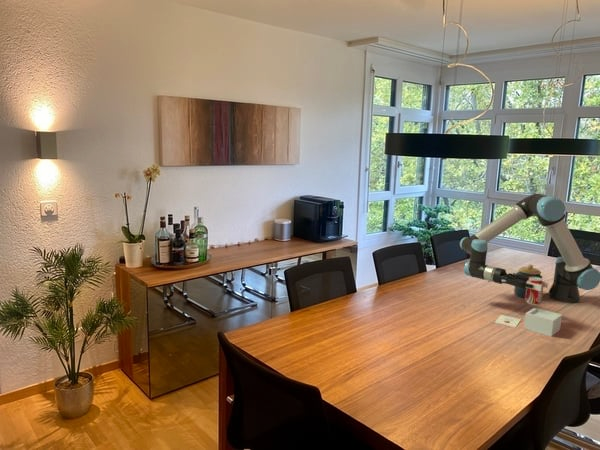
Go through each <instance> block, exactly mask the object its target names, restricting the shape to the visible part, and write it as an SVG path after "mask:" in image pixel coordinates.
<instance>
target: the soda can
mask: <svg viewBox="0 0 600 450" xmlns="http://www.w3.org/2000/svg"><path fill="white" fill-rule="evenodd" d="M543 281H544V280H543V278H539V277H529V279H528V280H527V282H531V283H535V284H539V285H542V288H541V291H538V290H534V289H530V288H526V294H525V298H524V301H525V302H527V304H529V305H532V306H538V305H541V304H542V301H543V295H544V293H543V292H544V287H543Z"/></svg>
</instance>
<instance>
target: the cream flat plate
mask: <svg viewBox="0 0 600 450" xmlns="http://www.w3.org/2000/svg"><path fill="white" fill-rule="evenodd" d="M521 320H522V319H520V318H517V317H513V316H508V315H503V314H500V316H498V318H497V319H496V320H495V321H494V323H495V324H498V325H503V326H508V327H511V328H517V326H518V324H520V323H521Z"/></svg>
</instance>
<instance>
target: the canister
mask: <svg viewBox="0 0 600 450" xmlns="http://www.w3.org/2000/svg"><path fill="white" fill-rule="evenodd" d="M516 274H519V275H524V276H529V277H539V278H541V279H543V276H542V275H541V274H542V272H541V270H539V268H537V267H534V266H533V265H532V264H528V265H527V266H523V267H522V266H521V267H520V268H518V271H517V272H516ZM513 289H514V290H513V292H514V295H515V296H516V297H519V298H523V299H525V294H526V287H525V289H523V287H522V288H520V287H516V286H514V288H513Z"/></svg>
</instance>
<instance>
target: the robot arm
mask: <svg viewBox="0 0 600 450" xmlns="http://www.w3.org/2000/svg"><path fill="white" fill-rule="evenodd" d="M565 211H566V205H565V204H564V202H563V201H562V200H561V199H560V198H558V197H557V196H554V195H548V194H543V193H533V194H530V195H528V196H526V197H524V198H523V199H521V200H520V201H518V202H516V203H515V204H513V207H512V208H511V209H509V210H508V211H506V212H505V213H504V214H502V215H500V216H499V217H498V218H496V219H494V220H493V221H492V222H490V223H488V224H487V225H485V226H484V227H483V228H481V229H480V230H478V231H477V232H475V233H474V234H472V235H470V236H469V237H468V236H465V237H463V238H461V240H460V241H459V247H460V249H461V250H462V251H463V252H465V253H466V254H469V256H470V257H469V258H470V259H469V260H467V261H466V262H465V264H464V267H463V273H464V275H466V276H469V277H471V278H476V279H478V280H479V279H480V280H483V281H487V282H488V283H490V282H492V283H495V284H499V285H502V284H505V285H509V286H514V287H515V286H516V287H520V288H522V287H523V289H525V287H526V288H530V289H534V290H538V291H541V288H542V285H539V284H535V283H531V282H527V280H528V279H529V276H524V275H519V274H516V273H517V272H516V273H515V272H513V273H510V272H509V273H508V272H507V271H506V269H505V268H501V267H497V266H492V265H488V264H486V262H487V255H488V253H487V252H488V243H489V242H490V241H492V240H493V239H495V238H496V237H498V236H499V235H501V234H503V233H504V232H505V231H507V230H509V229H510V228H511V227H513V226H515V225H516V224H518V223H519V222H521V221H522V220H525V221H526V220H527V219H529V218H533V217H536V218H537V220H538V222H539V223H540V225H541V227H545V228H546V229H547V231H548V233H549V235H550V237H551V239H552V241H553V242H554V244H555V246H556V247H557V249H558V252H559V253H560V255H561V256H558V257H557V258H556V261H555V268H554V274H553V275H554V276H553V281H552V282H553V283H552V284H551V286H550V288H549V289H548V287H549V282H548V281H545V280H542V281H543V288H546V289H548V292H547V296H548V297H549V298H550V299H553V300H554V301H558V302H564V303H570V304H571V303H574V304H575V303H578V302H580V299H581V296H580V291H579V289H582V290H584V291H591V290H593V289H595V288H597V287H598V286H599V285H600V271H599V270H598V269H597V268H594V267H593V265H592V263H591V261H590V259H588V258H586V257H584V256H583V253H582V251H581V250H580V248H579V246H578V244H577V242H576V240H575V238H574V236H573V235H572V233H571V230H570V229H569V227H568V225H567V223H566V222H565V221H566V220H565V219H566V217H567V216H566V213H565Z"/></svg>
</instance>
